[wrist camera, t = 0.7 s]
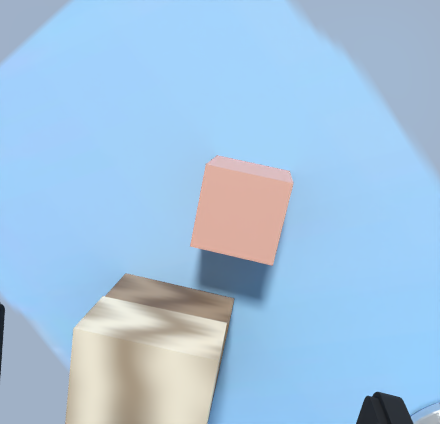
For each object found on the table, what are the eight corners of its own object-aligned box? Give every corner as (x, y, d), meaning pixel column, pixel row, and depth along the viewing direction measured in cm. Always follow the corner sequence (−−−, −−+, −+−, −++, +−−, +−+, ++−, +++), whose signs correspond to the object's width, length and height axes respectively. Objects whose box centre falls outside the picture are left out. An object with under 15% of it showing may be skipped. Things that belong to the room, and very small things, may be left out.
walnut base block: (234, 297, 37) (228, 325, 32) (214, 391, 39) (205, 430, 34) (126, 272, 37) (105, 296, 32) (113, 366, 40) (91, 401, 35)
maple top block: (227, 322, 32) (219, 360, 27) (206, 428, 34) (195, 481, 29) (102, 296, 32) (73, 328, 28) (91, 401, 35) (63, 448, 30)
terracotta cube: (289, 170, 33) (293, 183, 27) (272, 240, 35) (272, 265, 29) (217, 155, 34) (205, 164, 28) (203, 224, 35) (190, 246, 29)
